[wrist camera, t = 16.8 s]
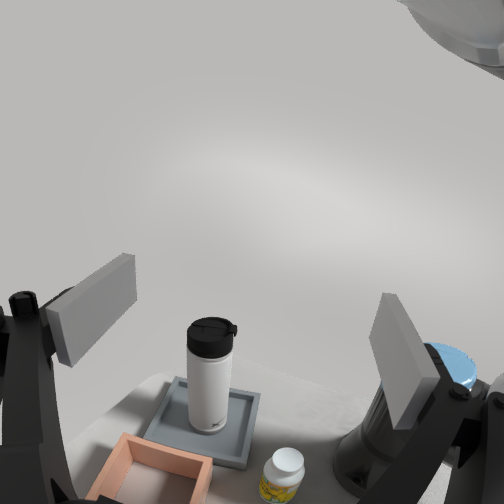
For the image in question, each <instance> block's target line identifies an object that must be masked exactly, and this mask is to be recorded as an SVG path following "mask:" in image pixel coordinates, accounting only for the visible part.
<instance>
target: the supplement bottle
mask: <svg viewBox="0 0 504 504" xmlns="http://www.w3.org/2000/svg"><path fill="white" fill-rule="evenodd" d="M303 463H304V458H303V455H302V454H301V453H300V452H299V451H298V450H296V449H293V448H288V447H286V448H281V449H278V450H277V451H276V452H275V453H274V454H273V456H272V457H271V458H270V459H268V461H267V462H266V463H265V466H264V468H263V472H262V476H261V480H260V484H259V494H260V496H261V497H262V499H264V500H265V501H266V502H268V503H272V504H284V503H287V502H289V501H290V500H291V499H292V498H293V497H294V495H295V493H296V491H297V489H298V487H299V485H300V483H301V481H302V479H303V477H304V473H305V468H304V465H303Z"/></svg>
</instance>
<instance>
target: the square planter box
mask: <svg viewBox="0 0 504 504" xmlns="http://www.w3.org/2000/svg"><path fill="white" fill-rule="evenodd" d="M133 461H137V462H140V463H143V464H146V465H149V466H152V467H155V468H158V469H161V470H164V471H168V472H171V473H175V474H178V475H182V476H186V477H190V478H193V479H198V480H197V483H196V486H195V489H194V492H193V495H192V498H191V501H190V504H204V503H205V499H206V496H207V493H208V489H209V486H210V483H211V479H212V462H213V458H211V457H206V456H202V455H198V454H194V453H190V452H186V451H182V450H178V449H175V448H171V447H168V446H164V445H161V444H158V443H154V442H151V441H148V440H145V439H142V438H139V437H136V436H133V435H130V434H127V433H125V432H123V434H122V435H121V437H120V439H119V441H118V442H117V444H116V446H115V447H114V449H113V451H112V453H111V454H110V456H109V458H108V459H107V461H106V463H105V465H104V466H103V468H102V470H101V471H100V473H99V475H98V477H97V478H96V480H95V482H94V484H93V485H92V487H91V489H90V491H89V492H88V494H87V496H86V498H85V499H87V500H95V501H96V500H97V499H98V497H99V495H100V494H101V495H103V496H106V497H108V498H110V499H113V500H114V498H115V496H116V494H117V492H118V490H119V488H120V486H121V484H122V482H123V480H124V478H125V476H126V474H127V473H128V471H129V469H130V467H131V465H132V463H133Z"/></svg>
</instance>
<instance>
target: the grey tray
mask: <svg viewBox="0 0 504 504" xmlns="http://www.w3.org/2000/svg"><path fill="white" fill-rule="evenodd" d="M259 399H260V393H255V392H249V391H243V390H237V389H232V388H229V398H228V410H227V421H226V426H225V428H224V429H223V430H222V431H221V432H219V433H217V434H214V435H204V434H200V433H198V432H196V431H195V430H193V429H192V428H191V426H190V424H189V413H188V386H187V379H185V378H181V377H177V376H175V378H174V380H173V382H172V384H171V386H170V387H169V389H168V391H167V393H166V395H165V397H164V399H163V401H162V403H161V404H160V406H159V408H158V410H157V412H156V414H155V416H154V418H153V420H152V422H151V423H150V425H149V427H148V429H147V431H146V433H145V435H144V437H143V439H145V440H148V441H151V442H154V443H158V444H161V445H164V446H168V447H171V448H175V449H178V450H182V451H186V452H190V453H194V454H198V455H202V456H206V457H211V458H213V462H212V464H214V465H219V466H223V467H229V468H234V469H239V470H246V465H247V460H248V455H249V450H250V445H251V440H252V435H253V430H254V425H255V420H256V415H257V410H258V404H259Z"/></svg>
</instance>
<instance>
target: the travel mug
mask: <svg viewBox="0 0 504 504" xmlns="http://www.w3.org/2000/svg"><path fill="white" fill-rule="evenodd" d="M233 334H234V337H235V336H236V334H237V326H236V325H233V324H232V323H231V322H230V321H228V320H227V319H223V318H219V317H207V318H202V319H199V320H196V321H194V322H193V323H192V324H191V326H190V327H189V328H188V330H187V386H188V413H189V424H190V426H191V428H192V429H193V430H195V431H196V432H198V433H200V434H204V435H214V434H217V433H219V432H221V431H222V430H223V429H224V428H225V426H226V421H227V410H228V398H229V386H230V375H231V363H232V352H233Z"/></svg>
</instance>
